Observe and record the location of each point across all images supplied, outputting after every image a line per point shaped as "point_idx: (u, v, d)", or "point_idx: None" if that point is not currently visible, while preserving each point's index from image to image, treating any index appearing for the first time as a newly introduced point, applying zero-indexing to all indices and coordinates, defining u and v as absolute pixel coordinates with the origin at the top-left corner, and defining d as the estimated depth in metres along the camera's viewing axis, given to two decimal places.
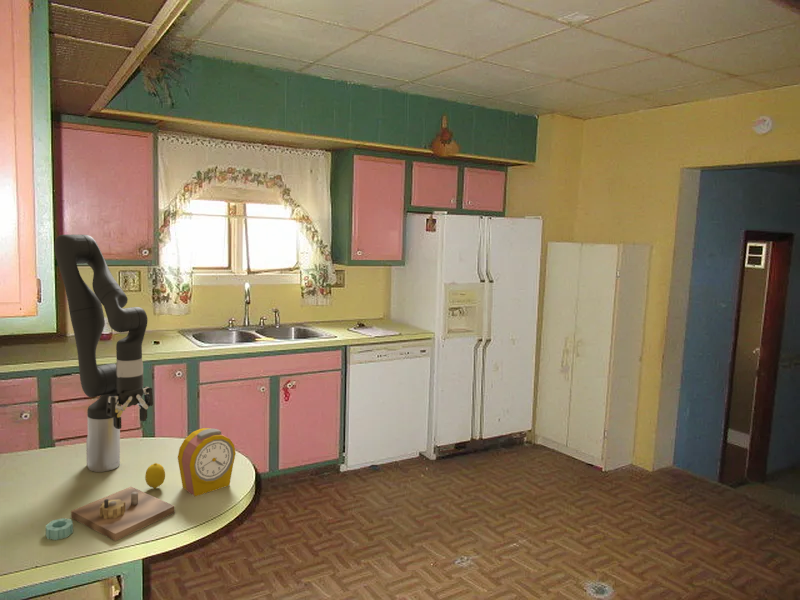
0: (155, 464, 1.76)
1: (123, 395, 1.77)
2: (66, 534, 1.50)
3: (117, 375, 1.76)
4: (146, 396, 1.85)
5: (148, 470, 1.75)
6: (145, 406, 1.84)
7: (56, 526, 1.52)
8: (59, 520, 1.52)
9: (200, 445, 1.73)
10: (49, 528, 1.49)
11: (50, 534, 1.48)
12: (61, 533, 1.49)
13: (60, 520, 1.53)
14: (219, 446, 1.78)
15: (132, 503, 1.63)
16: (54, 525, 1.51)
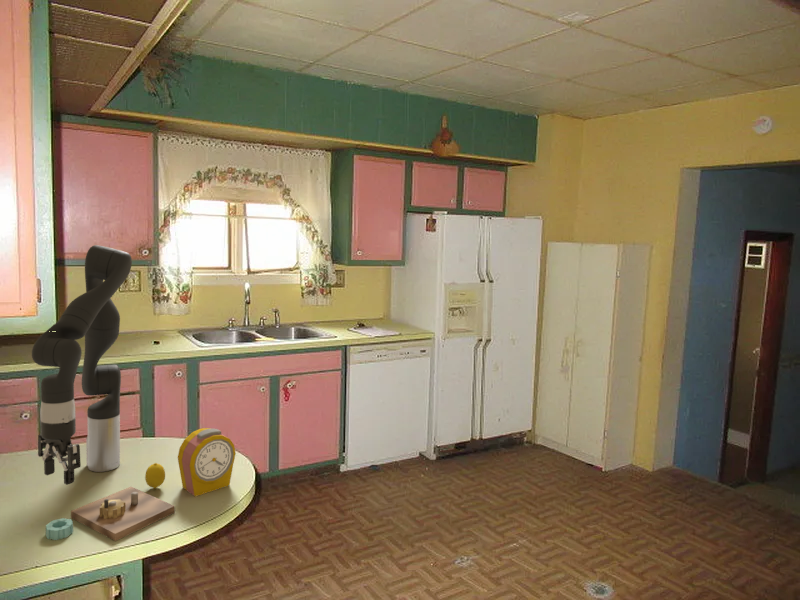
0: (155, 464, 1.76)
1: None
2: (66, 534, 1.50)
3: (64, 421, 1.44)
4: (45, 444, 1.51)
5: (148, 470, 1.75)
6: None
7: (56, 526, 1.52)
8: (59, 520, 1.52)
9: (200, 445, 1.73)
10: (49, 528, 1.49)
11: (50, 534, 1.48)
12: (61, 533, 1.49)
13: (60, 520, 1.53)
14: (219, 446, 1.78)
15: (132, 503, 1.63)
16: (54, 525, 1.51)
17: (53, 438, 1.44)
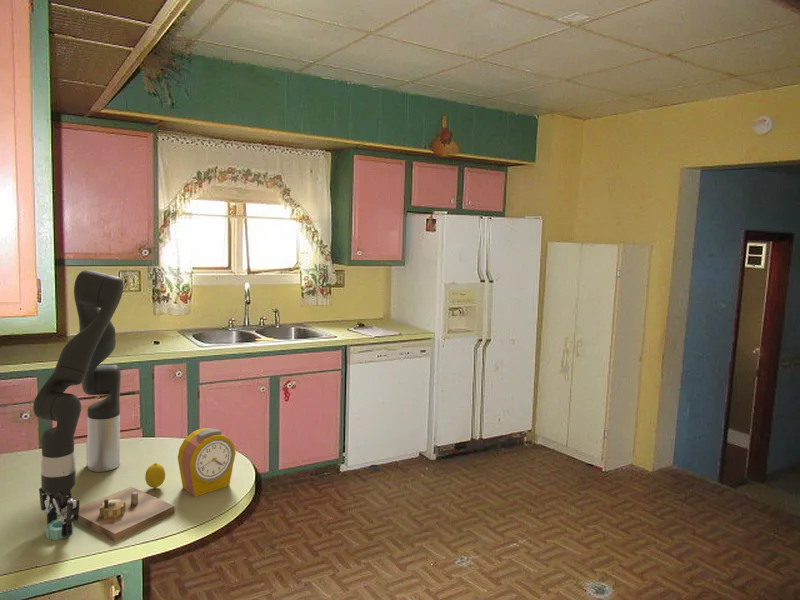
0: (155, 464, 1.76)
1: None
2: None
3: (64, 474, 1.46)
4: (46, 497, 1.52)
5: (148, 470, 1.75)
6: None
7: (56, 526, 1.52)
8: (59, 520, 1.52)
9: (200, 445, 1.73)
10: (49, 528, 1.49)
11: (50, 534, 1.48)
12: (61, 533, 1.49)
13: (60, 520, 1.53)
14: (219, 446, 1.78)
15: (132, 503, 1.63)
16: (54, 525, 1.51)
17: (53, 491, 1.46)
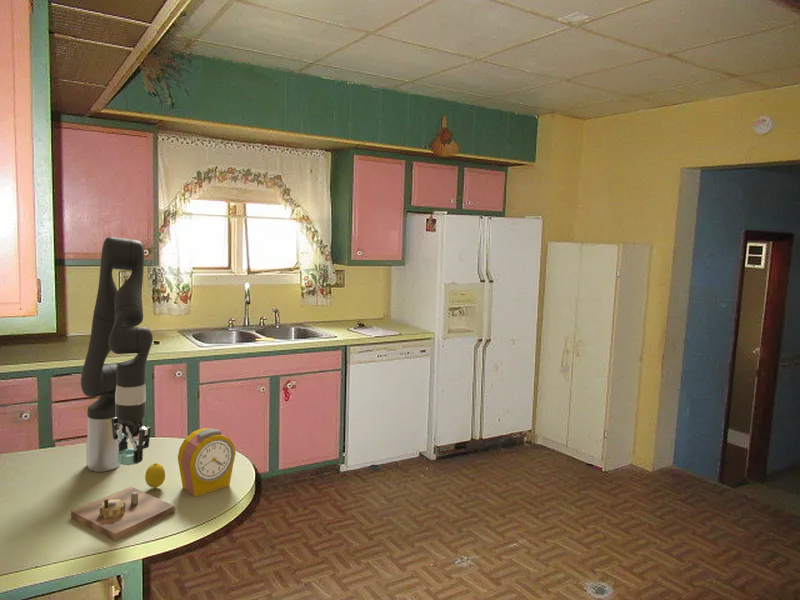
0: (155, 464, 1.76)
1: None
2: None
3: (137, 403, 1.57)
4: (118, 427, 1.63)
5: (148, 470, 1.75)
6: None
7: (127, 454, 1.63)
8: (129, 449, 1.63)
9: (200, 445, 1.73)
10: (121, 454, 1.59)
11: (122, 459, 1.59)
12: (133, 459, 1.59)
13: (130, 449, 1.63)
14: (219, 446, 1.78)
15: (132, 503, 1.63)
16: (125, 453, 1.62)
17: (127, 419, 1.56)
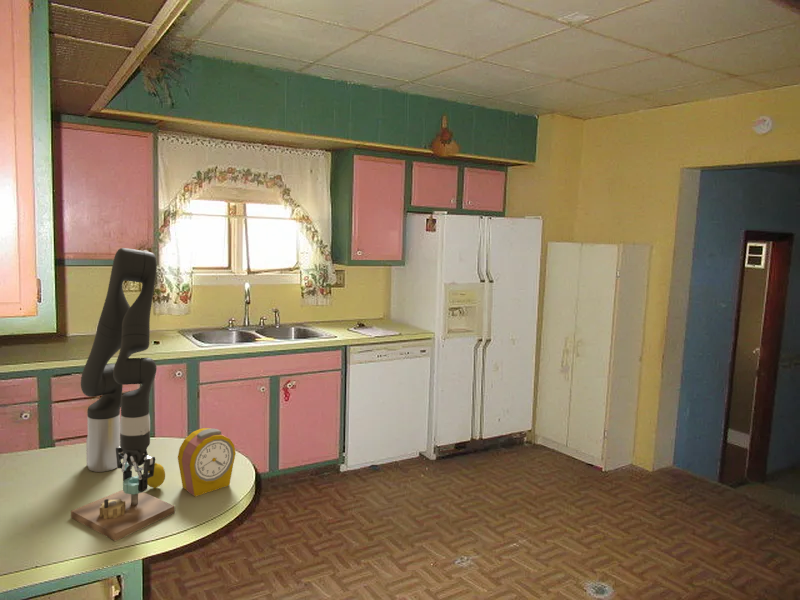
0: (155, 464, 1.76)
1: None
2: None
3: (142, 433, 1.59)
4: (122, 456, 1.65)
5: None
6: None
7: (131, 483, 1.65)
8: (134, 478, 1.65)
9: (200, 445, 1.73)
10: (127, 484, 1.61)
11: (127, 489, 1.61)
12: None
13: (135, 477, 1.65)
14: (219, 446, 1.78)
15: (132, 503, 1.63)
16: (130, 482, 1.64)
17: (132, 449, 1.58)
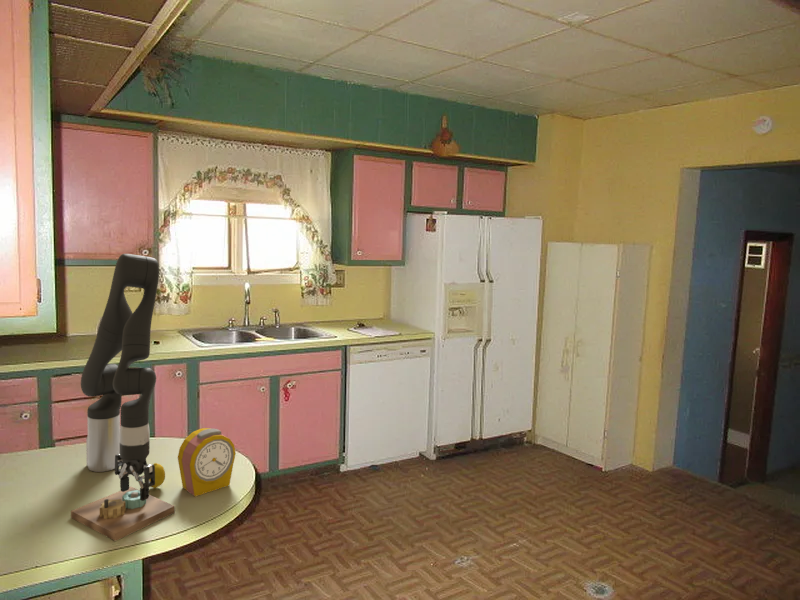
0: (155, 464, 1.76)
1: None
2: (141, 504, 1.63)
3: (141, 443, 1.59)
4: (121, 464, 1.66)
5: None
6: None
7: None
8: None
9: (200, 445, 1.73)
10: (126, 498, 1.62)
11: (126, 503, 1.62)
12: (137, 503, 1.62)
13: (134, 491, 1.66)
14: (219, 446, 1.78)
15: None
16: (129, 496, 1.65)
17: (131, 459, 1.59)
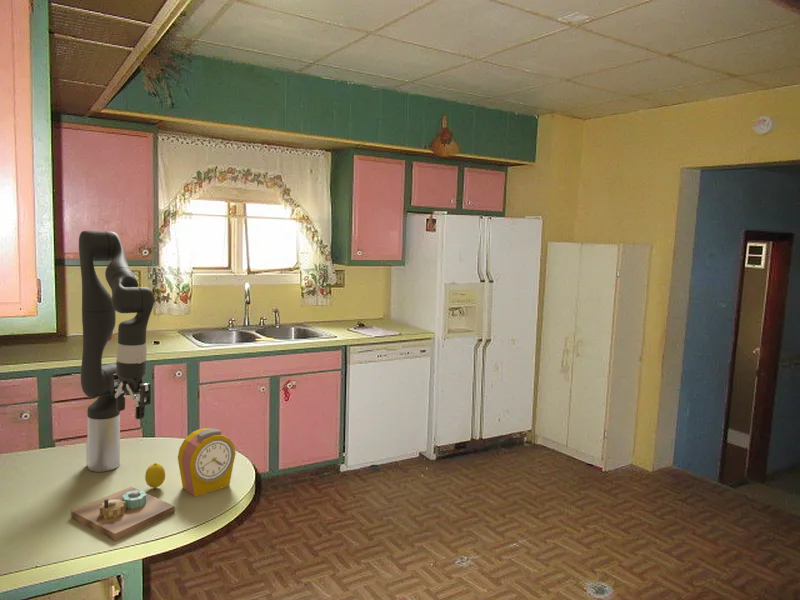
0: (155, 464, 1.76)
1: None
2: (141, 504, 1.63)
3: (138, 362, 1.61)
4: (117, 384, 1.67)
5: (148, 470, 1.75)
6: None
7: None
8: None
9: (200, 445, 1.73)
10: (126, 498, 1.62)
11: (126, 503, 1.62)
12: (137, 503, 1.62)
13: (134, 491, 1.66)
14: (219, 446, 1.78)
15: None
16: (129, 496, 1.65)
17: (128, 376, 1.60)
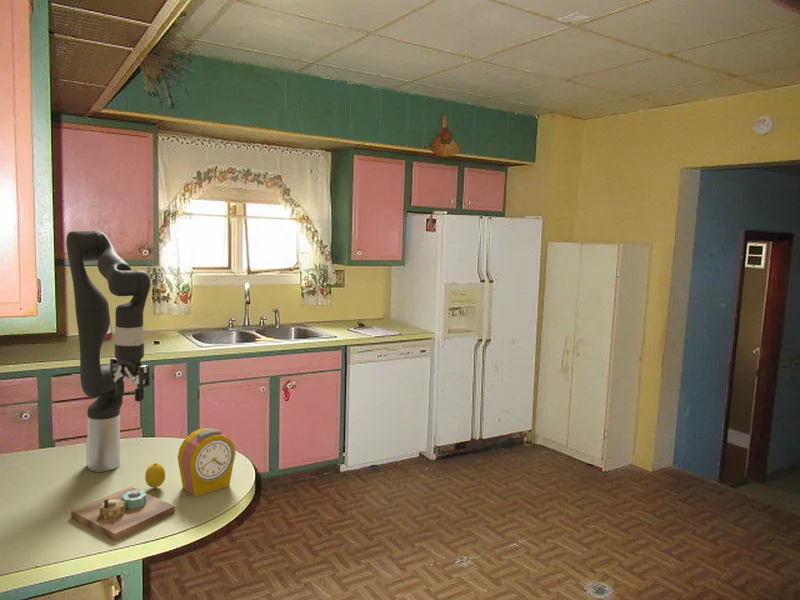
0: (155, 464, 1.76)
1: None
2: (141, 504, 1.63)
3: (136, 344, 1.63)
4: (116, 368, 1.69)
5: (148, 470, 1.75)
6: None
7: None
8: None
9: (200, 445, 1.73)
10: (126, 498, 1.62)
11: (126, 503, 1.62)
12: (137, 503, 1.62)
13: (134, 491, 1.66)
14: (219, 446, 1.78)
15: None
16: (129, 496, 1.65)
17: (126, 359, 1.62)
